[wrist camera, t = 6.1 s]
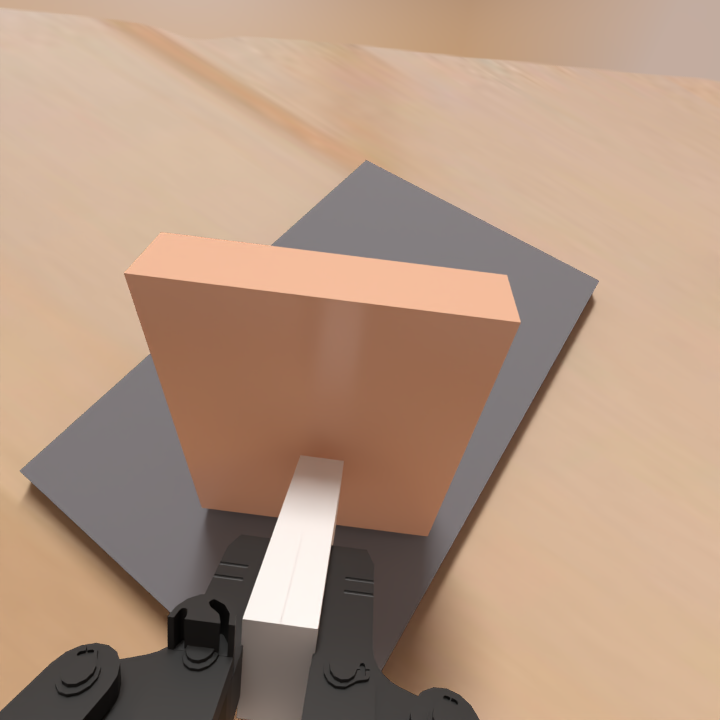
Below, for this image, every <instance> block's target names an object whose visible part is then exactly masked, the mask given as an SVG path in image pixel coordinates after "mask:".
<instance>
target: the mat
mask: <svg viewBox="0 0 720 720" xmlns="http://www.w3.org/2000/svg"><path fill="white" fill-rule="evenodd" d="M271 246H276V247H285V248H293V249H301V250H309V251H317V252H325V253H333V254H341V255H349V256H357V257H365V258H373V259H382V260H390V261H398V262H406V263H414V264H422V265H430V266H438V267H446V268H454V269H462V270H470V271H479V272H487V273H495V274H503V275H507V277H508V280H509V284H510V287H511V290H512V294H513V297H514V301H515V304H516V307H517V311H518V314H519V318H520V321H521V323H520V326H519V328H518V330H517V333H516V335H515V337H514V339H513V342H512V344H511V346H510V349H509V351H508V353H507V356H506V358H505V360H504V362H503V365H502V367H501V369H500V372H499V374H498V376H497V378H496V381H495V383H494V385H493V388H492V390H491V392H490V395H489V397H488V399H487V401H486V404H485V406H484V408H483V411H482V413H481V415H480V417H479V420H478V422H477V424H476V427H475V429H474V431H473V434H472V436H471V438H470V440H469V443H468V445H467V447H466V450H465V452H464V454H463V456H462V459H461V461H460V463H459V466H458V468H457V470H456V473H455V475H454V477H453V479H452V482H451V484H450V486H449V489H448V491H447V493H446V496H445V498H444V500H443V502H442V505H441V507H440V509H439V512H438V514H437V516H436V518H435V521H434V523H433V525H432V528H431V530H430V532H429V535H428V536H420V535H412V534H405V533H397V532H389V531H381V530H373V529H365V528H357V527H349V526H341V525H336V528H335V534H334V541H333V545H334V546H341V547H349V548H356V549H364V550H367V551H368V553H369V555H370V557H371V559H372V561H373V563H374V594H373V597H374V600H373V654H374V658H375V661H376V664H377V666H378V667H379V669H380V670H381V671H382V669H383V667H384V665H385V664H386V662H387V660H388V658H389V657H390V655H391V653H392V651H393V649H394V648H395V646H396V644H397V642H398V640H399V639H400V637H401V635H402V633H403V631H404V630H405V628H406V626H407V624H408V623H409V621H410V619H411V617H412V615H413V614H414V612H415V610H416V608H417V606H418V605H419V603H420V601H421V599H422V597H423V596H424V594H425V592H426V590H427V588H428V587H429V585H430V583H431V581H432V580H433V578H434V576H435V574H436V572H437V571H438V569H439V567H440V565H441V563H442V562H443V560H444V558H445V556H446V554H447V553H448V551H449V549H450V547H451V546H452V544H453V542H454V540H455V538H456V537H457V535H458V533H459V531H460V529H461V528H462V526H463V524H464V522H465V520H466V519H467V517H468V515H469V513H470V511H471V510H472V508H473V506H474V504H475V503H476V501H477V499H478V497H479V495H480V494H481V492H482V490H483V488H484V486H485V485H486V483H487V481H488V479H489V477H490V476H491V474H492V472H493V470H494V469H495V467H496V465H497V463H498V461H499V460H500V458H501V456H502V454H503V452H504V451H505V449H506V447H507V445H508V443H509V442H510V440H511V438H512V436H513V434H514V433H515V431H516V429H517V427H518V426H519V424H520V422H521V420H522V418H523V417H524V415H525V413H526V411H527V409H528V408H529V406H530V404H531V402H532V400H533V399H534V397H535V395H536V393H537V392H538V390H539V388H540V386H541V384H542V383H543V381H544V379H545V377H546V375H547V374H548V372H549V370H550V368H551V366H552V365H553V363H554V361H555V359H556V357H557V356H558V354H559V352H560V350H561V349H562V347H563V345H564V343H565V341H566V340H567V338H568V336H569V334H570V332H571V331H572V329H573V327H574V325H575V323H576V322H577V320H578V318H579V316H580V315H581V313H582V311H583V309H584V307H585V306H586V304H587V302H588V300H589V298H590V297H591V295H592V293H593V291H594V289H595V288H596V286H597V284H598V282H599V281H598V280H597V279H595V278H593V277H591V276H589V275H587V274H585V273H583V272H581V271H579V270H577V269H575V268H573V267H571V266H569V265H568V264H566V263H564V262H562V261H560V260H558V259H556V258H554V257H552V256H550V255H548V254H546V253H544V252H542V251H541V250H539V249H537V248H535V247H533V246H531V245H529V244H527V243H525V242H523V241H521V240H519V239H517V238H515V237H514V236H512V235H510V234H508V233H506V232H504V231H502V230H500V229H498V228H496V227H494V226H492V225H490V224H488V223H486V222H485V221H483V220H481V219H479V218H477V217H475V216H473V215H471V214H469V213H467V212H465V211H463V210H461V209H459V208H458V207H456V206H454V205H452V204H450V203H448V202H446V201H444V200H442V199H440V198H438V197H436V196H434V195H432V194H431V193H429V192H427V191H425V190H423V189H421V188H419V187H417V186H415V185H413V184H411V183H409V182H407V181H405V180H403V179H402V178H400V177H398V176H396V175H394V174H392V173H390V172H388V171H386V170H384V169H382V168H380V167H378V166H376V165H375V164H373V163H371V162H369V161H367V160H366V161H365V162H364V163H363V164H361V165H360V166H359V167H358V168H357V169H356V170H355V171H354V172H353V173H351V174H350V175H349V176H348V177H347V178H346V179H345V180H344V181H343V182H341V183H340V184H339V185H338V186H337V187H336V188H335V189H334V190H332V191H331V192H330V193H329V194H328V195H327V196H326V197H325V198H324V199H322V200H321V201H320V202H319V203H318V204H317V205H316V206H315V207H313V208H312V209H311V210H310V211H309V212H308V213H307V214H306V215H305V216H303V217H302V218H301V219H300V220H299V221H298V222H297V223H296V224H295V225H293V226H292V227H291V228H290V229H289V230H288V231H287V232H286V233H284V234H283V235H282V236H281V237H280V238H279V239H278V240H277V241H276V242H274V243H273V244H272V245H271ZM20 472H21V473H22V474H23V475H24V476H25V477H26V478H28V479H29V480H30V481H31V482H32V483H33V484H34V485H35V486H36V487H37V488H38V489H39V490H40V491H41V492H42V493H43V494H45V495H46V496H47V497H48V498H49V499H50V500H51V501H52V502H53V503H54V504H55V505H56V506H57V507H58V508H59V509H61V510H62V511H63V512H64V513H65V514H66V515H67V516H68V517H69V518H70V519H71V520H72V521H73V522H74V523H75V524H77V525H78V526H79V527H80V528H81V529H82V530H83V531H84V532H85V533H86V534H87V535H88V536H89V537H90V538H91V539H93V540H94V541H95V542H96V543H97V544H98V545H99V546H100V547H101V548H102V549H103V550H104V551H105V552H106V553H107V554H108V555H110V556H111V557H112V558H113V559H114V560H115V561H116V562H117V563H118V564H119V565H120V566H121V567H122V568H123V569H124V570H126V571H127V572H128V573H129V574H130V575H131V576H132V577H133V578H134V579H135V580H136V581H137V582H138V583H139V584H140V585H142V586H143V587H144V588H145V589H146V590H147V591H148V592H149V593H150V594H151V595H152V596H153V597H154V598H155V599H156V600H157V601H159V602H160V603H161V604H162V605H163V606H164V607H165V608H166V609H167V610H168V611H169V612H170V613H171V612H172V611H173V609H174V608H175V607H176V606H177V605H179V604H180V603H182V602H183V601H185V600H186V599H188V598H191V597H194V596H197V595H200V594H205V592H206V590H207V588H208V586H209V584H210V582H211V580H212V578H213V577H214V574H215V572H216V569H217V567H218V565H219V564H220V561H221V559H222V557H223V555H224V553H225V551H226V549H227V547H228V546H229V545H230V544H231V543H232V542H233V541H234V540H235V539H237V538H238V537H239V536H240V535H241V534H242V535H249V536H257V537H264V538H271V537H272V534H273V531H274V529H275V526H276V523H277V520H278V517H270V516H263V515H255V514H247V513H239V512H231V511H223V510H215V509H207V508H202V507H201V504H200V501H199V498H198V495H197V492H196V489H195V486H194V483H193V480H192V477H191V474H190V471H189V468H188V465H187V462H186V459H185V456H184V453H183V450H182V447H181V444H180V441H179V438H178V435H177V432H176V428H175V425H174V422H173V419H172V416H171V413H170V410H169V407H168V404H167V401H166V398H165V395H164V392H163V389H162V386H161V383H160V380H159V377H158V374H157V371H156V368H155V365H154V362H153V359H152V356H151V354H149V355H148V356H147V357H146V358H145V359H144V360H143V361H142V362H140V363H139V364H138V365H137V366H136V367H135V368H134V369H133V370H132V371H130V372H129V373H128V374H127V375H126V376H125V377H124V378H123V379H122V380H120V381H119V382H118V383H117V384H116V385H115V386H114V387H113V388H111V389H110V390H109V391H108V392H107V393H106V394H105V395H104V396H103V397H101V398H100V399H99V400H98V401H97V402H96V403H95V404H94V405H92V406H91V407H90V408H89V409H88V410H87V411H86V412H85V413H84V414H82V415H81V416H80V417H79V418H78V419H77V420H76V421H75V422H74V423H72V424H71V425H70V426H69V427H68V428H67V429H66V430H65V431H63V432H62V433H61V434H60V435H59V436H58V437H57V438H56V439H55V440H53V441H52V442H51V443H50V444H49V445H48V446H47V447H46V448H44V449H43V450H42V451H41V452H40V453H39V454H38V455H37V456H36V457H34V458H33V459H32V460H31V461H30V462H29V463H28V464H27V465H26V466H24V467H23V468H22V469H21V470H20Z"/></svg>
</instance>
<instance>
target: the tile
mask: <svg viewBox="0 0 720 720" xmlns="http://www.w3.org/2000/svg"><path fill="white" fill-rule="evenodd" d="M124 275H125V278H126V281H127V284H128V287H129V290H130V293H131V296H132V299H133V302H134V305H135V308H136V311H137V314H138V317H139V320H140V323H141V326H142V329H143V332H144V335H145V338H146V341H147V344H148V347H149V350H150V353H151V356H152V359H153V362H154V365H155V368H156V371H157V374H158V377H159V380H160V383H161V386H162V389H163V392H164V395H165V398H166V401H167V404H168V407H169V410H170V413H171V416H172V419H173V422H174V425H175V428H176V432H177V435H178V438H179V441H180V444H181V447H182V450H183V453H184V456H185V459H186V462H187V465H188V468H189V471H190V474H191V477H192V480H193V483H194V486H195V489H196V492H197V495H198V498H199V501H200V504H201V507H202V508H207V509H215V510H223V511H231V512H239V513H247V514H255V515H263V516H270V517H279V514H280V512H281V509H282V506H283V503H284V500H285V497H286V495H287V492H288V489H289V486H290V483H291V481H292V478H293V475H294V472H295V469H296V466H297V464H298V461H299V458H300V455H303V456H311V457H318V458H326V459H333V460H341V461H344V464H343V472H342V480H341V488H340V496H339V504H338V512H337V520H336V525H341V526H349V527H357V528H365V529H373V530H381V531H389V532H397V533H405V534H412V535H420V536H428V535H429V532H430V530H431V528H432V525H433V523H434V521H435V518H436V516H437V514H438V512H439V509H440V507H441V505H442V502H443V500H444V498H445V496H446V493H447V491H448V489H449V486H450V484H451V482H452V479H453V477H454V475H455V473H456V470H457V468H458V466H459V463H460V461H461V459H462V456H463V454H464V452H465V450H466V447H467V445H468V443H469V440H470V438H471V436H472V434H473V431H474V429H475V427H476V424H477V422H478V420H479V417H480V415H481V413H482V411H483V408H484V406H485V404H486V401H487V399H488V397H489V395H490V392H491V390H492V388H493V385H494V383H495V381H496V378H497V376H498V374H499V372H500V369H501V367H502V365H503V362H504V360H505V358H506V356H507V353H508V351H509V349H510V346H511V344H512V342H513V339H514V337H515V335H516V333H517V330H518V328H519V326H520V323H521V321H520V318H519V314H518V311H517V307H516V304H515V301H514V297H513V294H512V290H511V287H510V284H509V280H508V277H507V275H503V274H495V273H487V272H479V271H470V270H462V269H454V268H446V267H438V266H430V265H422V264H414V263H406V262H398V261H390V260H382V259H373V258H365V257H357V256H349V255H341V254H333V253H325V252H317V251H309V250H301V249H293V248H285V247H276V246H268V245H260V244H252V243H244V242H236V241H228V240H220V239H212V238H204V237H196V236H188V235H180V234H171V233H163V232H161V233H160V234H159V235H158V236H157V237H156V238H155V239H154V240H153V242H152V243H151V244H150V245H149V246H148V247H147V248H146V249H145V250H144V252H143V253H142V254H141V255H140V256H139V257H138V258H137V259H136V260H135V261H134V263H133V264H132V265H131V266H130V267H129V268H128V269H127V270H126V271H125V273H124Z"/></svg>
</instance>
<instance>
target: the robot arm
mask: <svg viewBox="0 0 720 720" xmlns="http://www.w3.org/2000/svg"><path fill="white" fill-rule="evenodd" d="M343 464H344V461H341V460H333V459H326V458H318V457H311V456H303V455H300V458H299V461H298V464H297V466H296V469H295V472H294V475H293V478H292V481H291V483H290V486H289V489H288V492H287V495H286V497H285V500H284V503H283V506H282V509H281V512H280V514H279V517H278V520H277V523H276V526H275V529H274V531H273V534H272V537H271V538H264V537H257V536H249V535H242V534H241V535H240V536H239V537H238V538H237V539H235V540H234V541H233V542H232V543H231V544H230V545H229V546H228V547H227V549H226V551H225V553H224V555H223V557H222V559H221V561H220V564H219V565H218V567H217V569H216V572H215V574H214V577H213V578H212V580H211V582H210V584H209V586H208V588H207V590H206V592H205V594H200V595H197V596H194V597H191V598H188V599H186V600H185V601H183V602H182V603H180V604H179V605H177V606H176V607H175V608H174V609H173V611H172V612H171V613H170V614H169V615H168V647H166V648H164V649H162V650H160V651H158V652H154V653H151V654H147V655H142V656H136V657H131V658H125V659H119V657H118V654H117V652H116V651H115V650H114V649H113V648H111V647H110V646H109V645H104V644H99V643H93V644H87V645H81V646H79V647H76V648H74V649H72V650H70V651H67V652H65V653H64V654H63V655H61V656H60V657H59V658H57V659H56V660H55V661H53V662H52V663H51V664H50V665H49V666H48V667H46V668H45V669H44V670H43V671H42V672H41V673H40V674H39V675H38V676H37V677H36V678H35V679H34V680H33V681H32V682H31V683H30V684H29V685H28V686H27V687H26V688H24V689H23V690H22V691H21V692H20V693H19V694H18V695H17V696H16V697H15V698H14V699H13V700H12V701H11V702H10V703H9V704H8V705H7V706H6V707H5V708H3V709H2V710H1V711H0V720H233V719H234V715H235V712H236V709H237V718H240V719H247V720H479V718H478V716H477V715H476V713H475V711H474V710H473V708H472V706H471V705H470V704H469V703H468V702H467V701H466V700H465V699H463V698H462V697H461V696H460V695H459V694H457V693H455V692H453V691H450V690H448V689H445V688H435V687H433V688H431V689H428V690H425V691H422V692H421V693H420V695H419V696H416V695H414V694H412V693H410V692H408V691H406V690H404V689H402V688H400V687H398V686H397V685H395V684H394V683H392V682H391V681H390V680H388V679H387V678H386V677H385V676H384V675H383V673H382V672H381V670H380V669H379V667H378V666H377V664H376V661H375V658H374V654H373V600H374V597H373V594H374V563H373V561H372V559H371V557H370V555H369V553H368V551H367V550H364V549H356V548H349V547H341V546H334V545H333V541H334V534H335V528H336V520H337V512H338V504H339V496H340V488H341V480H342V472H343ZM237 705H238V706H237Z"/></svg>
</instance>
